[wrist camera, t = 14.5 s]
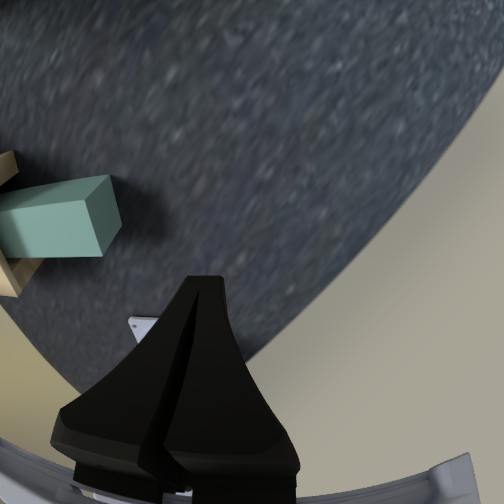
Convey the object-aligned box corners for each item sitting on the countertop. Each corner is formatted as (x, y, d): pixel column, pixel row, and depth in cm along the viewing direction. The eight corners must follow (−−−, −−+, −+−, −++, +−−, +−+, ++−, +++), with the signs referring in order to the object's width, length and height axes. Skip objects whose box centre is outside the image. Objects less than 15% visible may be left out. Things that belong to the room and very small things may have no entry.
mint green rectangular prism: (123, 223, 20) (102, 256, 17) (16, 231, 21) (-8, 258, 17) (111, 173, 18) (84, 199, 15) (1, 192, 18) (-26, 216, 15)
